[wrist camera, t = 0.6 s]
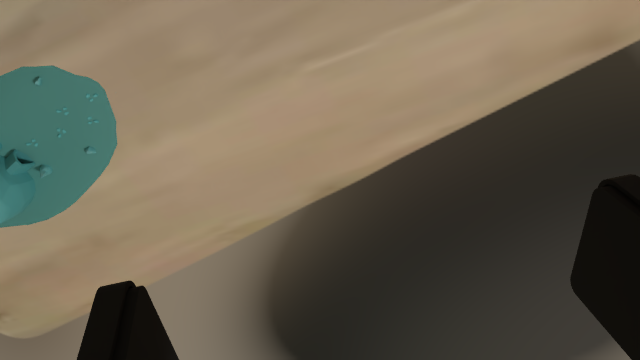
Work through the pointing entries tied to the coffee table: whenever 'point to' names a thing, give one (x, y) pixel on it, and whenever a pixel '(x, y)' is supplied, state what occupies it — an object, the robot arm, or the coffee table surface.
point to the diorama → (50, 141)
